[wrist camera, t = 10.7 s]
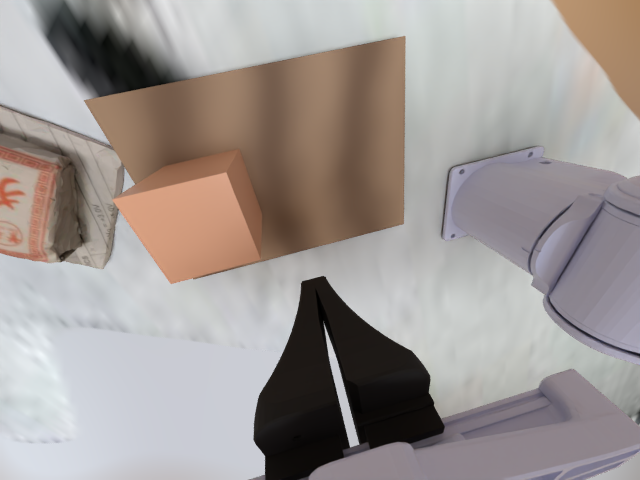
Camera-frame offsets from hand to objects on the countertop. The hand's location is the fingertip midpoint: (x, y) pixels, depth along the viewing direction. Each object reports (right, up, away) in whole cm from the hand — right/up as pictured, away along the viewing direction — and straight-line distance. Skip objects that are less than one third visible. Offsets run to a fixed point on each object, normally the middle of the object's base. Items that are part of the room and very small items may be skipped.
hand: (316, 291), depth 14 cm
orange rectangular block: (-8, +7, +4) cm, 11 cm away
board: (-3, +8, +6) cm, 11 cm away
